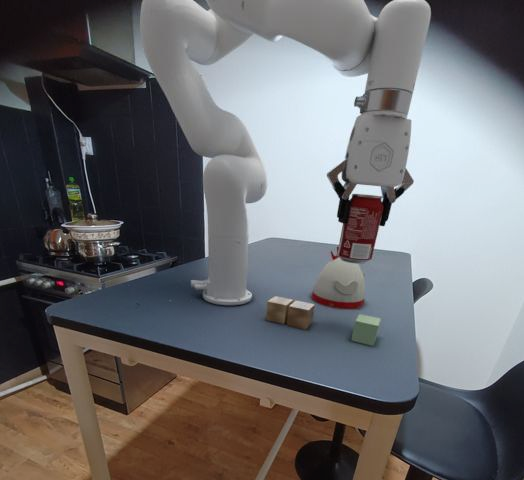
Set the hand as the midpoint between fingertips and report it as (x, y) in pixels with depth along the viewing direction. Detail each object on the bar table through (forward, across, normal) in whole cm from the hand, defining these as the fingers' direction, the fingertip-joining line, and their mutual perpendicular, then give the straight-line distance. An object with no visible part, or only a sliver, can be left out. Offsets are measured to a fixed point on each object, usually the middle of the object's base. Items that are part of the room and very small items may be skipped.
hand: (361, 223), depth 61 cm
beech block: (+22, -9, 0) cm, 23 cm away
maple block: (+22, -13, +3) cm, 26 cm away
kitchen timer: (+22, +5, +18) cm, 28 cm away
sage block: (+21, +3, -7) cm, 23 cm away
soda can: (+7, 0, 0) cm, 7 cm away
